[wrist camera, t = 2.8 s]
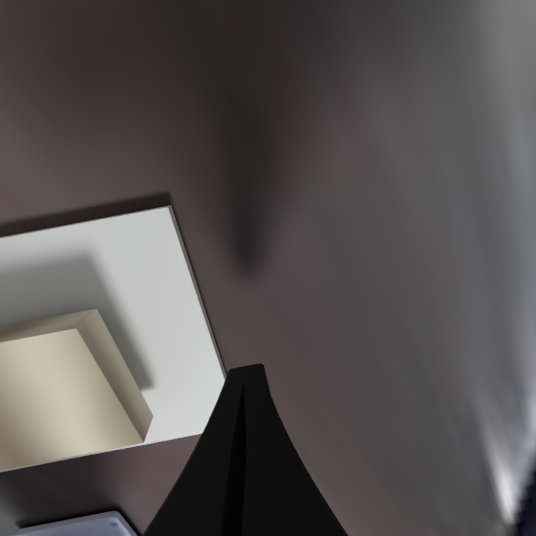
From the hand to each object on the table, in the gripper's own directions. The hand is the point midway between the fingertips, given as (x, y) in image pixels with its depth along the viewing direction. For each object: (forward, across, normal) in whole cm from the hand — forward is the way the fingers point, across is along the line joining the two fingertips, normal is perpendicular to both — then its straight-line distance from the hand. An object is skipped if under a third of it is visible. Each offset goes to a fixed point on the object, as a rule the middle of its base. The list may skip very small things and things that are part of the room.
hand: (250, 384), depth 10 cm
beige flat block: (+3, +11, 0) cm, 12 cm away
